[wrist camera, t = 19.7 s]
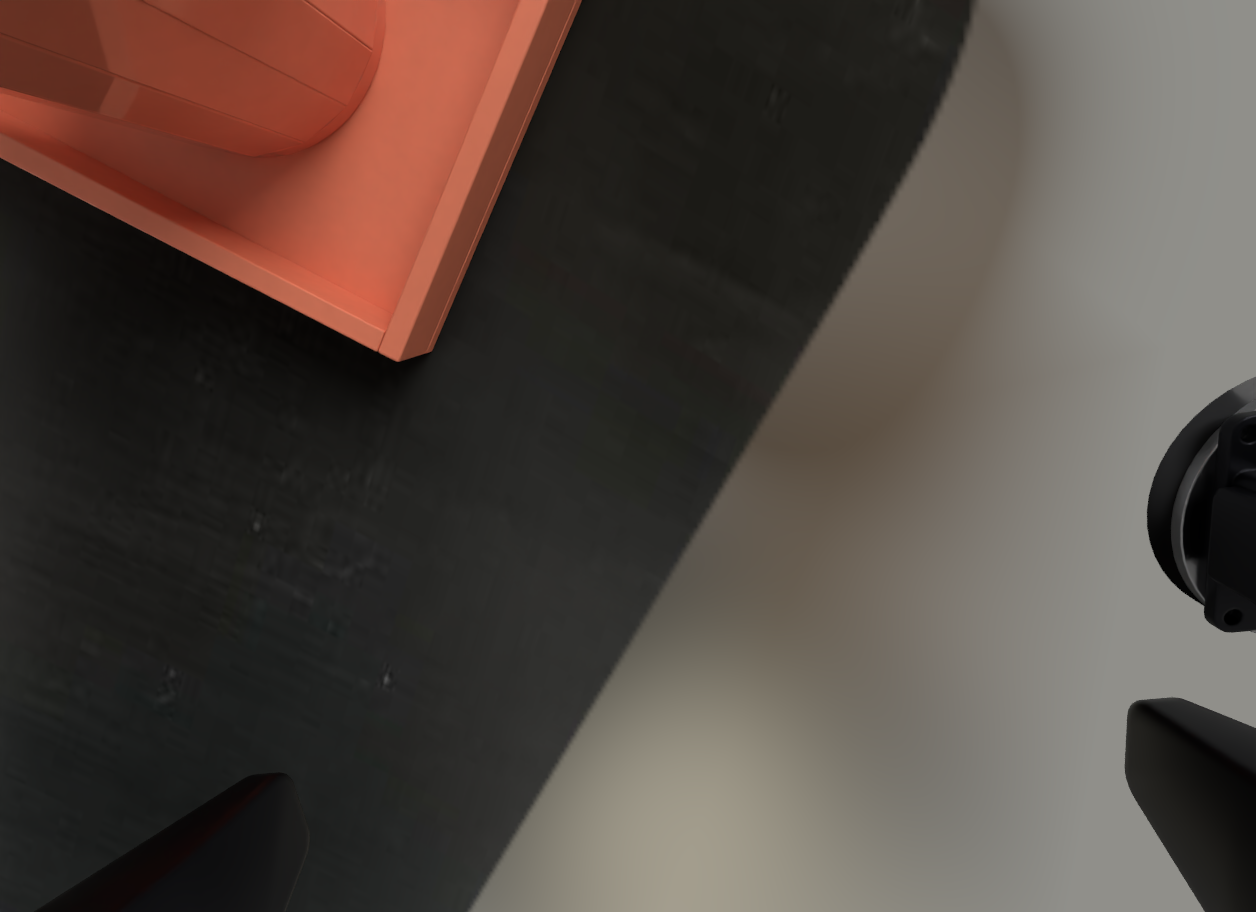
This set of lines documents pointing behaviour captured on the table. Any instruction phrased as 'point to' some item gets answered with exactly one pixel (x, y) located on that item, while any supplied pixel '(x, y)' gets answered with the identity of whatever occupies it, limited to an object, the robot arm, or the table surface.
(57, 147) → the coral tray
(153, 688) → the table surface
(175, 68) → the coral cup
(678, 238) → the table surface
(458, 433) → the table surface
